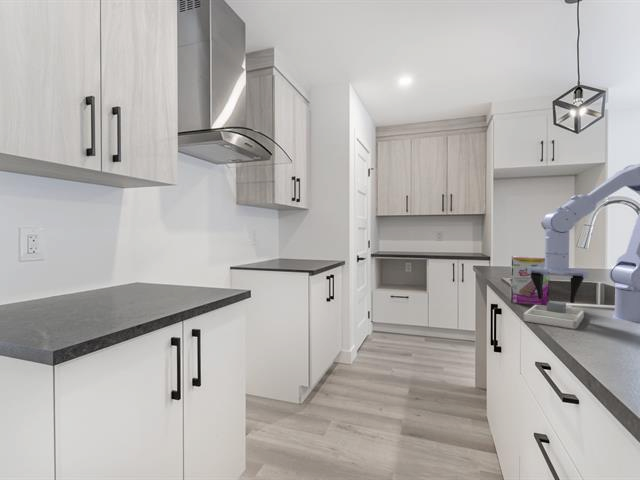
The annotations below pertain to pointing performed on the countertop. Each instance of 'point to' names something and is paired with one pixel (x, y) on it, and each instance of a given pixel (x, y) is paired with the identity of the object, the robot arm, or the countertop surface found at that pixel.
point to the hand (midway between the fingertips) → (556, 300)
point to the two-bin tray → (554, 317)
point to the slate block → (556, 306)
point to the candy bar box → (527, 281)
